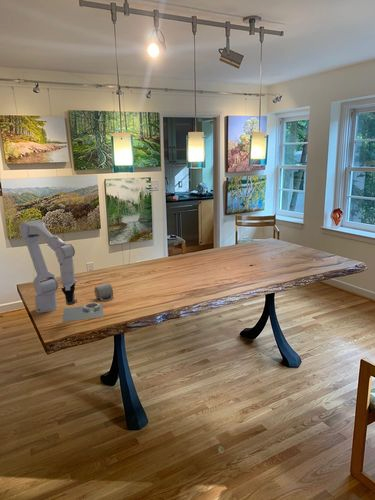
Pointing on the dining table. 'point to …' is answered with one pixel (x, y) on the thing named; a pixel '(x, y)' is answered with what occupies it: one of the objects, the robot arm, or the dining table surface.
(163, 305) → the dining table surface
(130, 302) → the dining table surface
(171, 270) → the dining table surface
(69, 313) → the hub board
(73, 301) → the knob
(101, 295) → the ceramic mug
